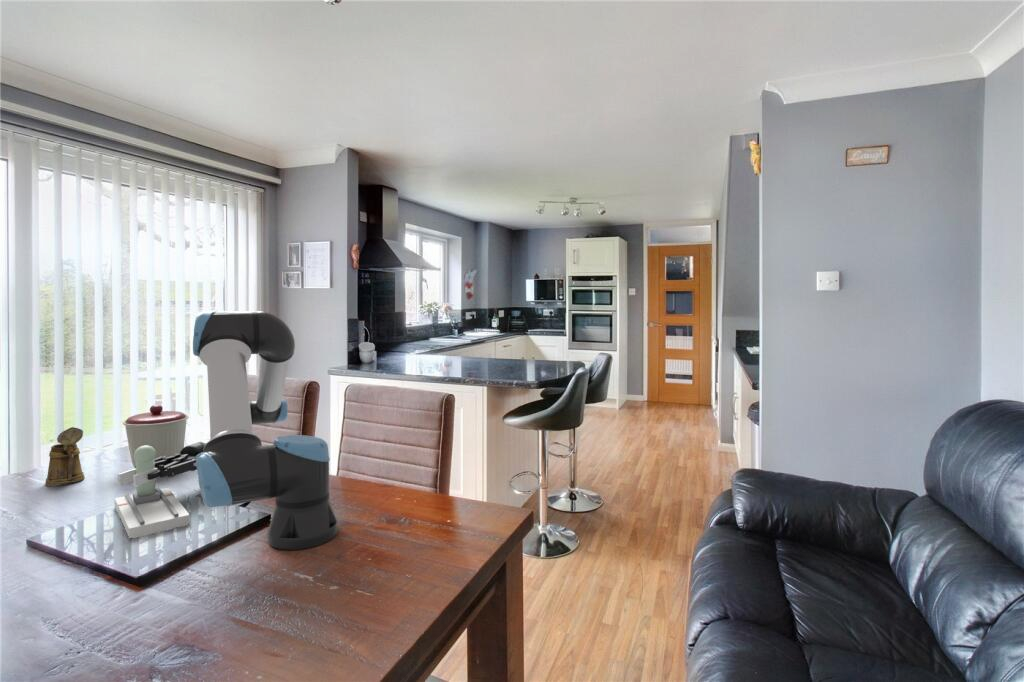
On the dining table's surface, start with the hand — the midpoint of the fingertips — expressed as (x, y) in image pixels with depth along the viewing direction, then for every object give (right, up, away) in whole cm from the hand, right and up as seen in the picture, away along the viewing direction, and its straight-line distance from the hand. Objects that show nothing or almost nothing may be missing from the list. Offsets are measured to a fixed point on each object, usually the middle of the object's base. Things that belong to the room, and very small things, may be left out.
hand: (126, 480), depth 131 cm
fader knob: (+1, -7, +6) cm, 9 cm away
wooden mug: (-37, -8, +26) cm, 46 cm away
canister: (-21, -7, +42) cm, 47 cm away
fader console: (+5, -10, +1) cm, 11 cm away
